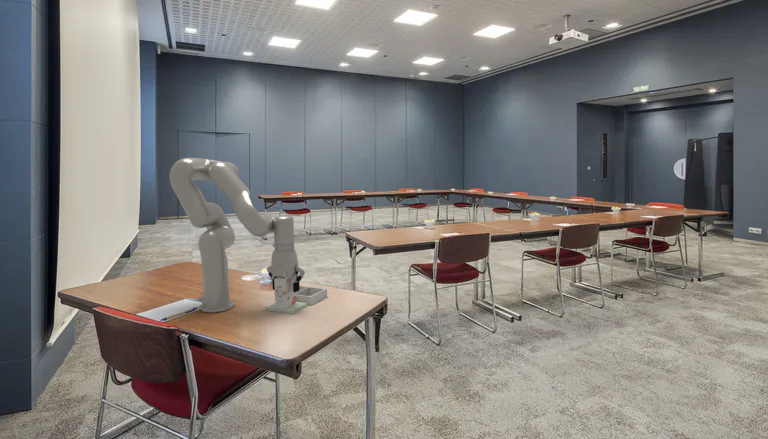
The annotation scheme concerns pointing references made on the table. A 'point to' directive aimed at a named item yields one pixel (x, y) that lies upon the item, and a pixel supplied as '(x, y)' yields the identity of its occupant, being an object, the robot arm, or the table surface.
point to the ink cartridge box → (284, 292)
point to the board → (289, 310)
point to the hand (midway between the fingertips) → (286, 290)
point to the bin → (306, 291)
